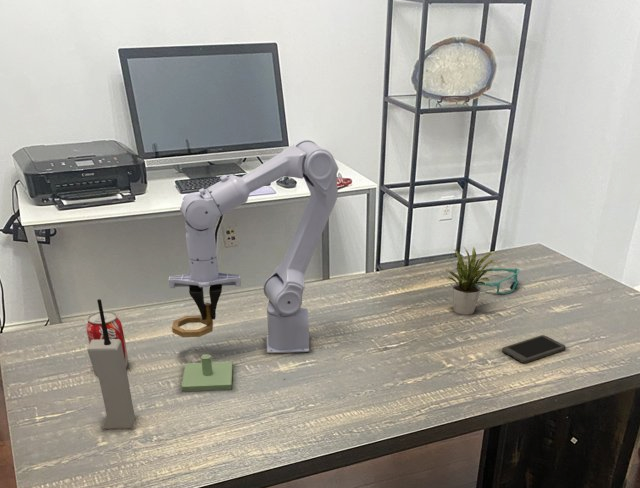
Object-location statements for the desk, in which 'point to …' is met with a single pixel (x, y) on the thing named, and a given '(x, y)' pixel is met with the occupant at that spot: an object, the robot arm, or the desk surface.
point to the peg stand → (207, 375)
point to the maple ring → (194, 319)
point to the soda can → (112, 326)
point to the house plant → (468, 282)
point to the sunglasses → (504, 279)
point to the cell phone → (533, 348)
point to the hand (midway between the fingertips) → (208, 317)
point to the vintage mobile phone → (112, 378)
